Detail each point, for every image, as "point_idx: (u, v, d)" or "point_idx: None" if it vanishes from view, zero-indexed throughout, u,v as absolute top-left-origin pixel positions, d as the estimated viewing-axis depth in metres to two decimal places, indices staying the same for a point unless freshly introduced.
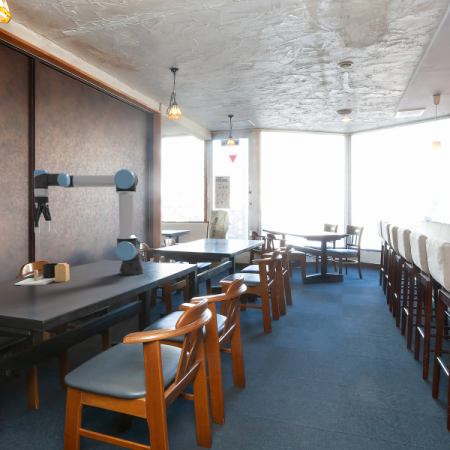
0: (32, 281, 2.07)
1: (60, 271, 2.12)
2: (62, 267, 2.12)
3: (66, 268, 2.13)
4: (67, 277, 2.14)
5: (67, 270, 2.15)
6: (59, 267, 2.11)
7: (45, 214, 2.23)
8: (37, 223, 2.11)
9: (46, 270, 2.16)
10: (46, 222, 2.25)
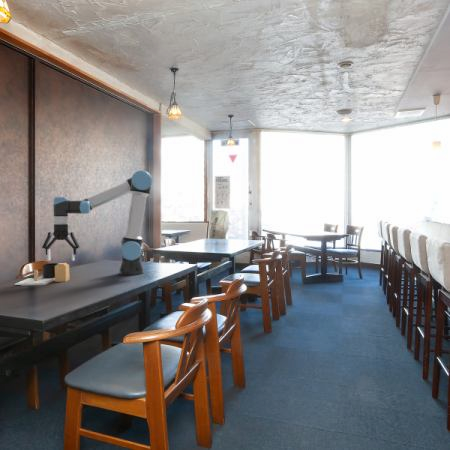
0: (32, 281, 2.07)
1: (60, 271, 2.12)
2: (62, 267, 2.12)
3: (66, 268, 2.13)
4: (67, 277, 2.14)
5: (67, 270, 2.15)
6: (59, 267, 2.11)
7: None
8: (46, 251, 2.13)
9: (46, 270, 2.16)
10: None
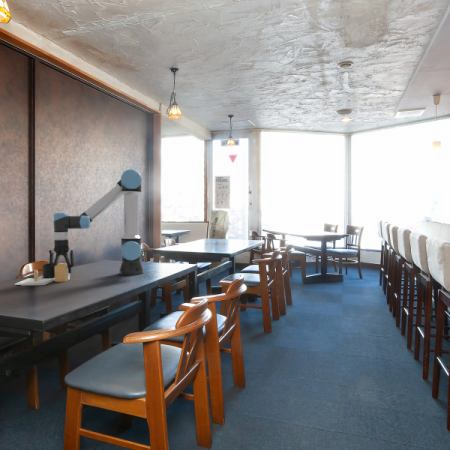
0: (32, 281, 2.07)
1: (60, 271, 2.12)
2: (62, 267, 2.12)
3: (66, 268, 2.13)
4: None
5: None
6: (59, 267, 2.11)
7: None
8: (54, 270, 2.14)
9: (46, 270, 2.16)
10: None
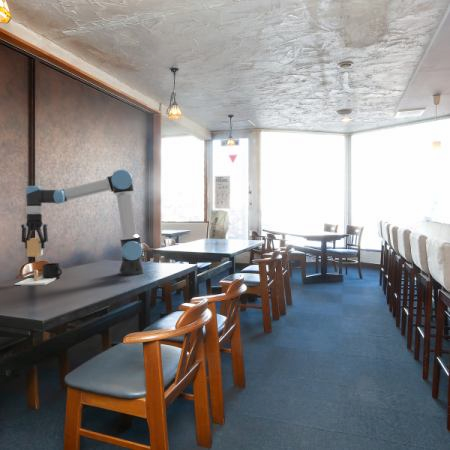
0: (32, 281, 2.07)
1: (32, 246, 2.06)
2: (34, 242, 2.06)
3: None
4: (39, 252, 2.08)
5: None
6: (31, 242, 2.06)
7: None
8: (26, 245, 2.08)
9: (46, 270, 2.16)
10: None
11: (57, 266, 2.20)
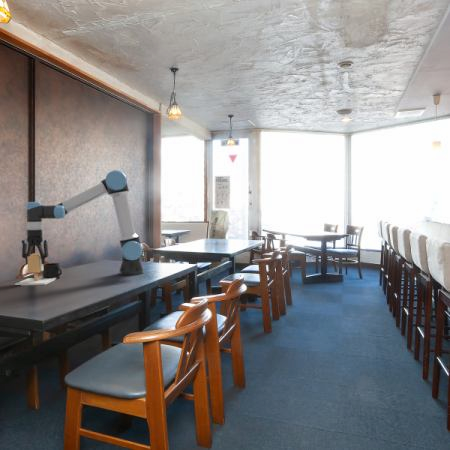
0: (32, 281, 2.07)
1: (33, 262, 2.06)
2: (35, 258, 2.06)
3: (39, 259, 2.08)
4: None
5: None
6: (32, 258, 2.06)
7: None
8: (26, 260, 2.08)
9: (45, 270, 2.16)
10: None
11: (57, 266, 2.20)
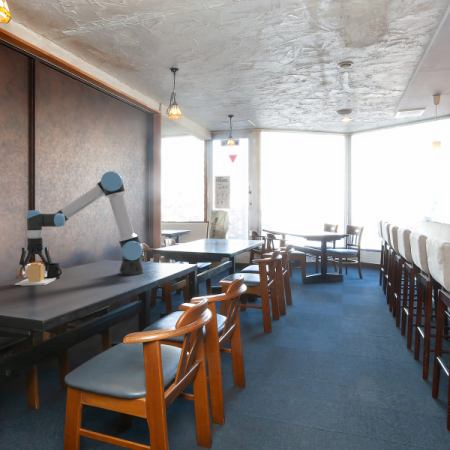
0: None
1: (33, 271, 2.07)
2: (35, 267, 2.07)
3: (40, 268, 2.08)
4: (41, 277, 2.09)
5: (41, 270, 2.10)
6: (32, 267, 2.06)
7: None
8: (24, 267, 2.08)
9: None
10: None
11: (57, 266, 2.20)
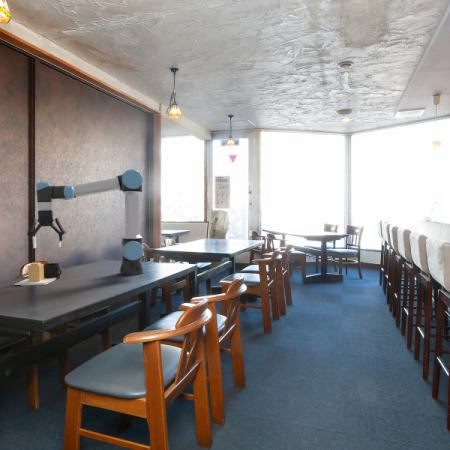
0: None
1: (33, 271, 2.07)
2: (35, 267, 2.07)
3: (40, 268, 2.08)
4: (41, 277, 2.09)
5: (41, 270, 2.10)
6: (32, 267, 2.06)
7: None
8: (32, 238, 2.08)
9: (45, 270, 2.16)
10: None
11: (57, 266, 2.20)
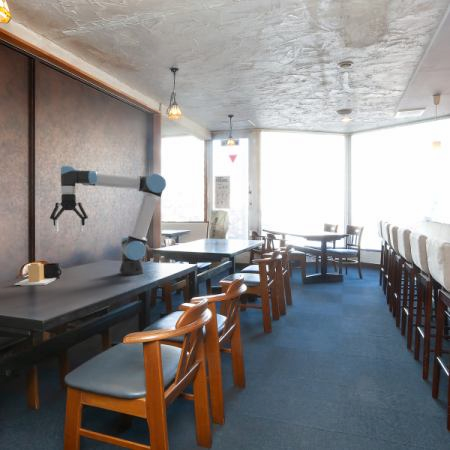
0: None
1: (33, 271, 2.07)
2: (35, 267, 2.07)
3: (40, 268, 2.08)
4: (41, 277, 2.09)
5: (41, 270, 2.10)
6: (32, 267, 2.06)
7: None
8: (54, 222, 2.09)
9: (45, 270, 2.16)
10: None
11: (57, 266, 2.20)
